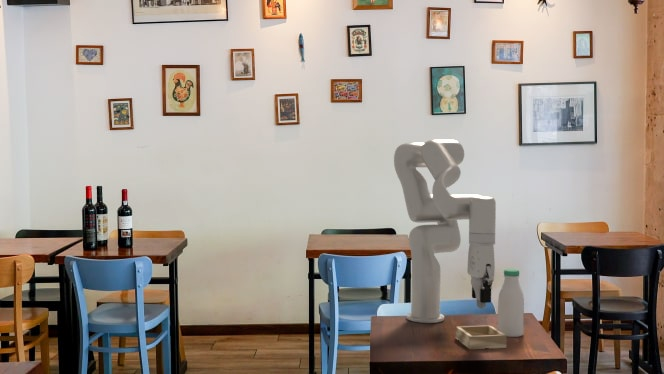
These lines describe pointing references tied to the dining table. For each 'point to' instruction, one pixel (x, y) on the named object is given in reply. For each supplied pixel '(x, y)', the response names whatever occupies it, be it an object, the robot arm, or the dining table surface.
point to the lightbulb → (478, 290)
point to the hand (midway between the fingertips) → (481, 299)
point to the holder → (481, 337)
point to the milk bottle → (511, 305)
